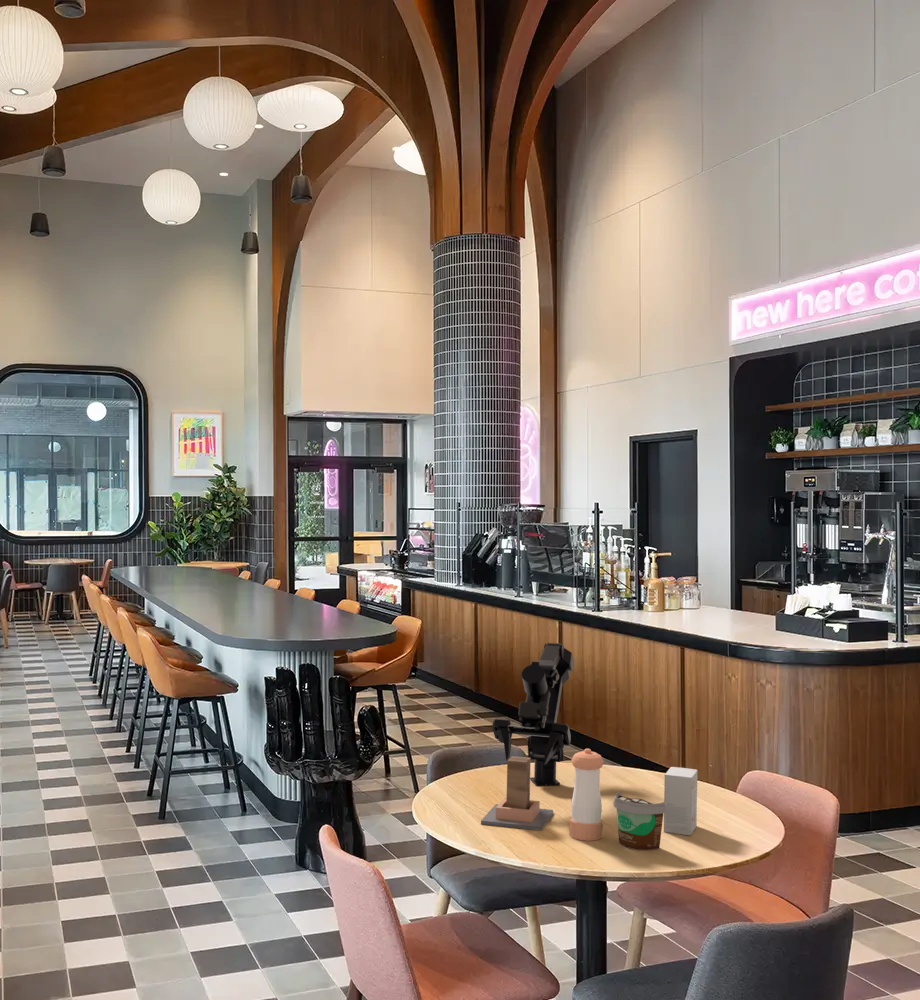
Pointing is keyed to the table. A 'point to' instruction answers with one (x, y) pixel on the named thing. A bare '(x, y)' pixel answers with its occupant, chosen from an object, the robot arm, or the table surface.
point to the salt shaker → (586, 797)
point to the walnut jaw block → (518, 782)
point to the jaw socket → (518, 816)
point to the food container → (639, 822)
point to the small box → (680, 800)
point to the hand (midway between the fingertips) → (525, 761)
